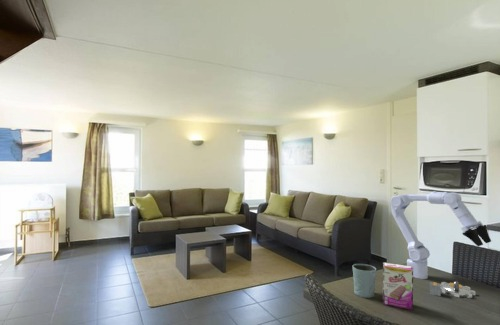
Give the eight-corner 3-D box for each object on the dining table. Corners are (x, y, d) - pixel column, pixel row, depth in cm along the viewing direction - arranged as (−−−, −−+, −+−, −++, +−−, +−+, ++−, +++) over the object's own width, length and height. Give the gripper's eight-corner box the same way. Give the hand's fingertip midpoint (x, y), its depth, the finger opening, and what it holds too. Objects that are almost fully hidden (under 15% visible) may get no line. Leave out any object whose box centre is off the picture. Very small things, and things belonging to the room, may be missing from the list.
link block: (429, 294, 127) (429, 284, 127) (430, 291, 130) (429, 281, 131) (440, 297, 125) (440, 286, 125) (440, 293, 128) (440, 283, 128)
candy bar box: (382, 305, 118) (382, 265, 119) (382, 300, 123) (382, 262, 123) (413, 310, 114) (413, 269, 114) (412, 305, 118) (412, 265, 119)
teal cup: (348, 293, 129) (348, 267, 129) (357, 287, 137) (357, 261, 137) (371, 300, 122) (371, 272, 123) (379, 293, 130) (379, 266, 130)
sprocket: (438, 293, 128) (437, 280, 128) (438, 282, 140) (437, 271, 140) (476, 300, 121) (476, 287, 121) (473, 289, 132) (473, 277, 132)
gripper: (464, 214, 126) (485, 243, 119) (480, 210, 133) (501, 237, 126) (450, 220, 131) (469, 249, 125) (466, 216, 138) (485, 243, 132)
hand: (484, 244), depth 126 cm, fingers open, 7 cm apart
